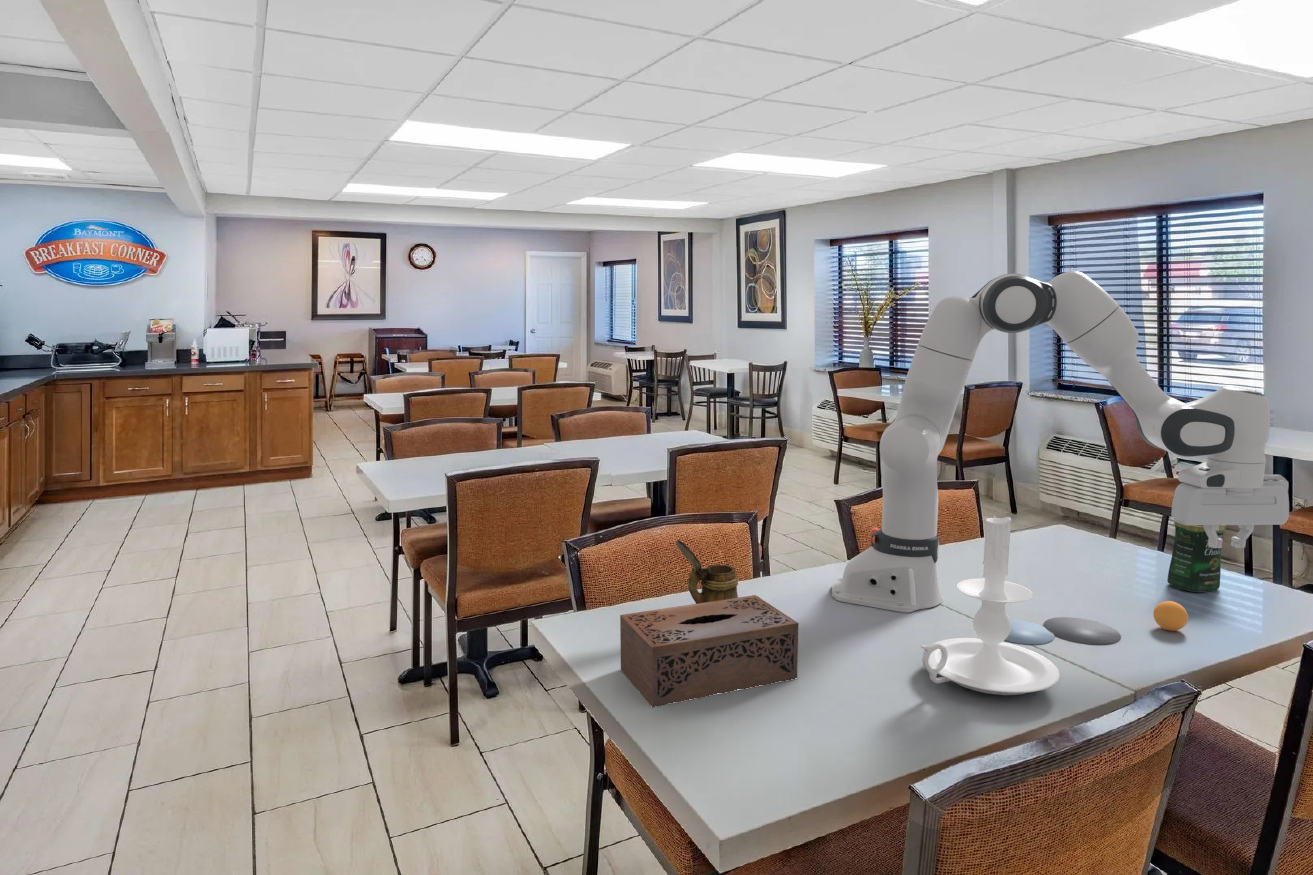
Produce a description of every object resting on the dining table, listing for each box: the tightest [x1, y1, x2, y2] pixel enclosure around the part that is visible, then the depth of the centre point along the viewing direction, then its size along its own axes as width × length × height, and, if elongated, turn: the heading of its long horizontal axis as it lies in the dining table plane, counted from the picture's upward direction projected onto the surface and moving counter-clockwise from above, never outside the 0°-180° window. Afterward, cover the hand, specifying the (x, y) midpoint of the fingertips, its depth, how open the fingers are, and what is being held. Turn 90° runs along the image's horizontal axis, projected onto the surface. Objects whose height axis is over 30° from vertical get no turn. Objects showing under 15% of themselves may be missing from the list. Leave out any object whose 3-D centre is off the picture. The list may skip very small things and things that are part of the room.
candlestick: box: [920, 514, 1061, 696], centre depth 129 cm, size 21×25×28 cm
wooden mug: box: [676, 539, 739, 604], centre depth 154 cm, size 9×14×18 cm, turn 112°
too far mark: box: [1004, 618, 1055, 646], centre depth 152 cm, size 12×12×1 cm
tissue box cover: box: [619, 594, 799, 708], centre depth 133 cm, size 26×14×10 cm, turn 112°
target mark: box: [1042, 616, 1122, 646], centre depth 152 cm, size 13×13×1 cm
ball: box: [1153, 600, 1189, 632], centre depth 152 cm, size 6×6×6 cm
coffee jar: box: [1166, 519, 1228, 593], centre depth 175 cm, size 10×8×19 cm
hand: (1226, 547), depth 150 cm, fingers open, 3 cm apart
